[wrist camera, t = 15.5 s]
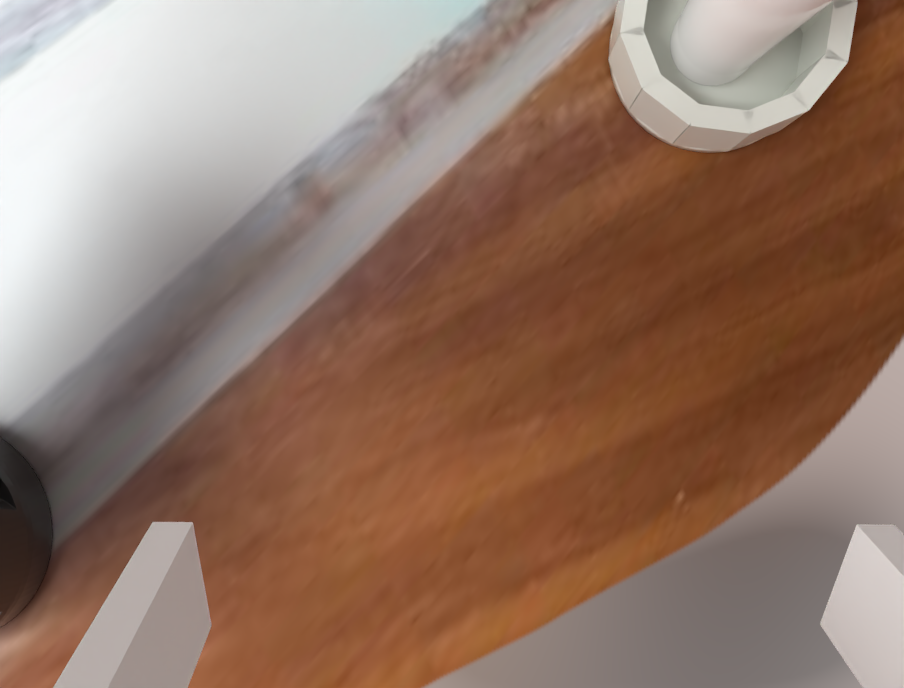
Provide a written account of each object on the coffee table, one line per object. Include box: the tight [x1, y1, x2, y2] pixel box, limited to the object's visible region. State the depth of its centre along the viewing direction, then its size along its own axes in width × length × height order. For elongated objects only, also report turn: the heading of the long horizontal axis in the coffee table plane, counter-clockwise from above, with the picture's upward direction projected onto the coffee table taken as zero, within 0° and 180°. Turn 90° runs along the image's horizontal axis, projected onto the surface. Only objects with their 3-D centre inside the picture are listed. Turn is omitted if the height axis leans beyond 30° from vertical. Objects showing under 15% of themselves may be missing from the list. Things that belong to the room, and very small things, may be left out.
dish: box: [608, 0, 858, 153], centre depth 39 cm, size 13×13×4 cm
